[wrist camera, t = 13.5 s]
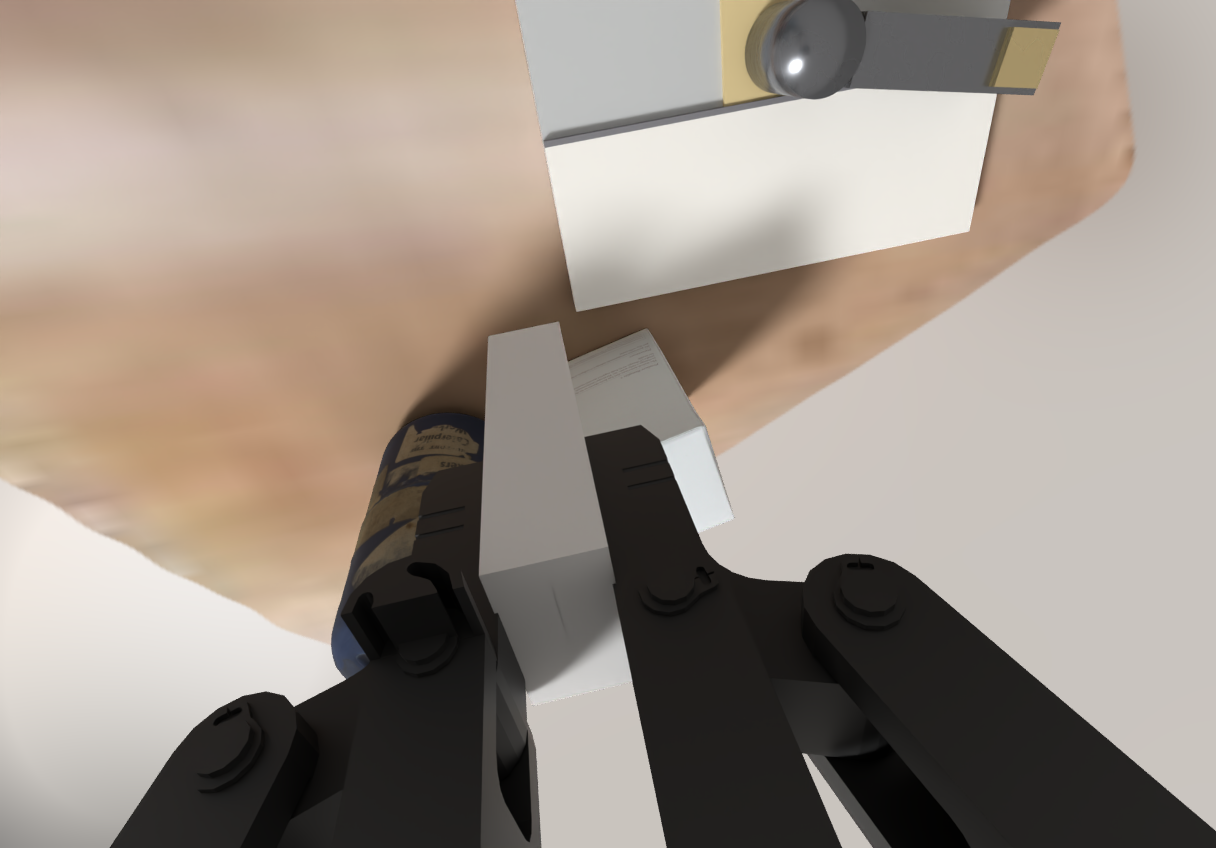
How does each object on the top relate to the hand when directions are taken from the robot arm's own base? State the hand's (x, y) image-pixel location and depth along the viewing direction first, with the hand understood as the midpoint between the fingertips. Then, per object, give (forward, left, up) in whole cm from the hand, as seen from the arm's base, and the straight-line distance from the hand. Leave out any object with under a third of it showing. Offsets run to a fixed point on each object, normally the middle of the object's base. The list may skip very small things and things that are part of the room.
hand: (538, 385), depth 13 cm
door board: (-1, +15, -24) cm, 29 cm away
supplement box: (+15, +4, -25) cm, 29 cm away
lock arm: (-3, +20, -23) cm, 30 cm away
